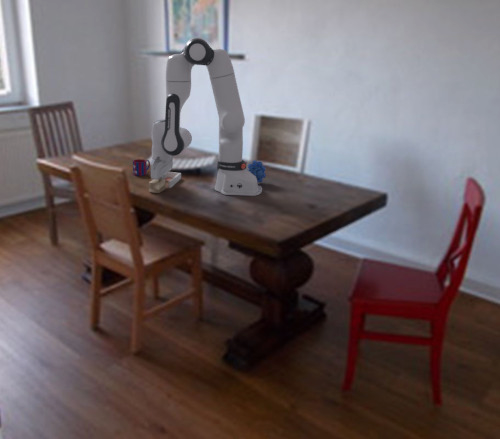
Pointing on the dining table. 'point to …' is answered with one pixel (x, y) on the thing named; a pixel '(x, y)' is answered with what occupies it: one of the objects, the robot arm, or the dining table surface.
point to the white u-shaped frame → (172, 178)
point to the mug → (140, 167)
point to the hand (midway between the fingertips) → (161, 183)
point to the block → (157, 185)
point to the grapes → (257, 170)
